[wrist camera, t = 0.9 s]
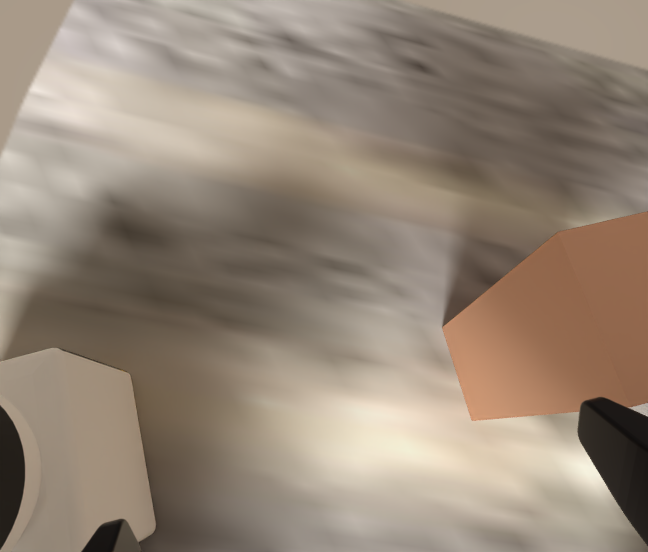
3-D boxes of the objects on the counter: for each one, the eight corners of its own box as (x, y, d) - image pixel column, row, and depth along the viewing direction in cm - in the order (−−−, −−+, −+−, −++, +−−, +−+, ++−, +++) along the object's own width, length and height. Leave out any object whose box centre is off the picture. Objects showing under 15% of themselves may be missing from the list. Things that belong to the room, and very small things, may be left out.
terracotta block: (562, 397, 23) (802, 361, 12) (471, 420, 23) (630, 407, 11) (527, 306, 25) (714, 196, 13) (442, 327, 24) (558, 231, 13)
